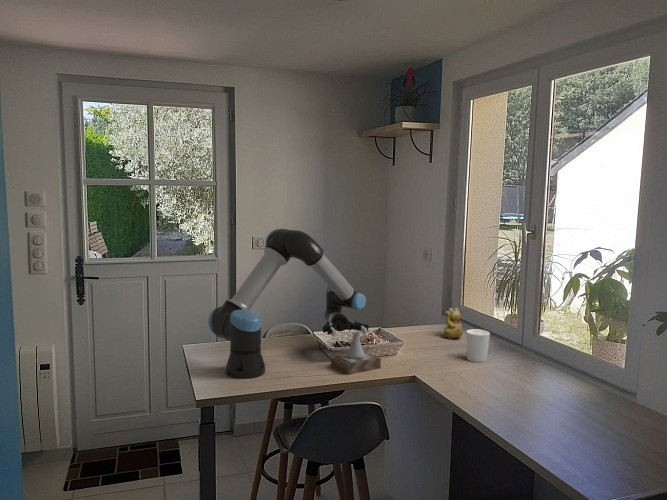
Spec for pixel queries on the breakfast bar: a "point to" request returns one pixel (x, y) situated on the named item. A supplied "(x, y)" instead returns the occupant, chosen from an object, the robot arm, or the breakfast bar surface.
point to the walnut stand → (355, 363)
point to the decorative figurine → (453, 324)
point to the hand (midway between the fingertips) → (350, 333)
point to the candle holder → (477, 345)
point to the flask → (356, 347)
